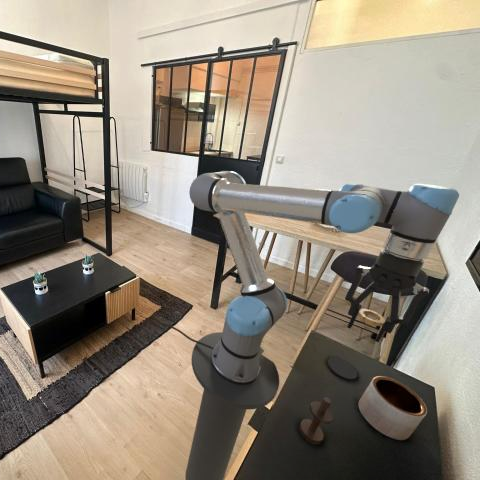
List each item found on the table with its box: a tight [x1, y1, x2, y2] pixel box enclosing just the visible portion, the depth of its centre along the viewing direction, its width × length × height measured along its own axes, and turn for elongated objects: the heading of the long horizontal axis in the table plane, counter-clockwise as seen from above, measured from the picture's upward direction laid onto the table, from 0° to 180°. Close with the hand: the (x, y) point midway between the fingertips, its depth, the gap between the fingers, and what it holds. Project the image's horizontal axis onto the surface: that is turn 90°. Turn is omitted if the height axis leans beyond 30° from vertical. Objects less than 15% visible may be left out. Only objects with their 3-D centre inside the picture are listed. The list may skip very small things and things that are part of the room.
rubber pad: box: [327, 356, 358, 381], centre depth 81 cm, size 8×8×1 cm
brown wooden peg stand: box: [298, 396, 334, 446], centre depth 60 cm, size 5×5×12 cm
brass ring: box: [357, 308, 386, 327], centre depth 65 cm, size 5×5×1 cm
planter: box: [358, 375, 428, 441], centre depth 65 cm, size 11×11×10 cm
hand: (363, 332), depth 67 cm, fingers closed on brass ring, 5 cm apart
